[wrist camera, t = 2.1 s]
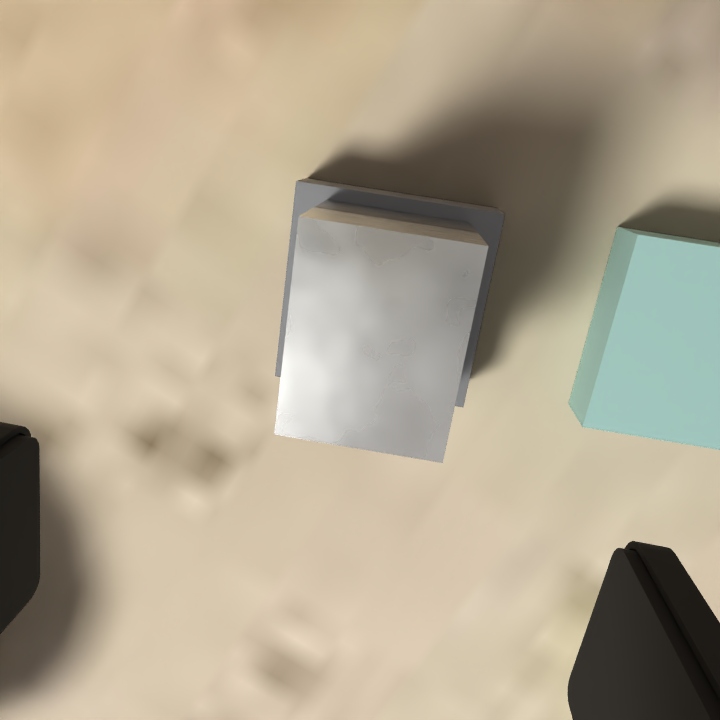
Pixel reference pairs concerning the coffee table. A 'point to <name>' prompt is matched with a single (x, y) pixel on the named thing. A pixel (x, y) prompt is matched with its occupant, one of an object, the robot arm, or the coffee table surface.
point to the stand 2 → (654, 342)
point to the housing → (378, 328)
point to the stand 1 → (480, 217)
